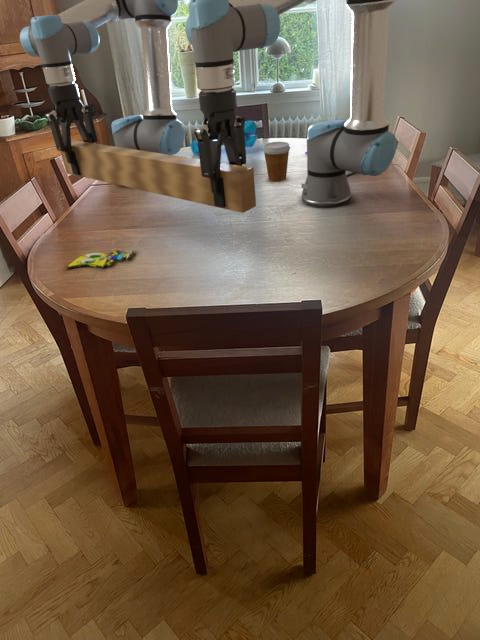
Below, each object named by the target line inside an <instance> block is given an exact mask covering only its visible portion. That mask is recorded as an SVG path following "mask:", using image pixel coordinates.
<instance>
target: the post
mask: <svg viewBox="0 0 480 640" xmlns="http://www.w3.org/2000/svg"><path fill="white" fill-rule="evenodd" d="M71 149H72V151H75V155H76V159H77V163H78V166H79V170H80V174H81V175H75V174H73V172H72V168H71V164H68V162H67V159H66V155H65V152H63V151H60V154H61V158H62V162H63V165H64V169H65V172H66V174H69V175H73V176H75V177H76V176H78V177H81V178H86V179H90V180H94V181H99V182H103V183H107V184H111V185H112V184H113V185H117V186H120V185H121V186H120V187H123V186H125V188H131V189H135V190H139V191H143V192H147V193H152V194H157V195H161V196H166V197H169V198H170V197H171V198H175V199H180V200H184V201H189V202H192V203H197V204H201V205H205V206H208V207H209V206H210V207H215V208H218V209H223V210H227V211H232V212H237V213H242V214H244V213H246V212H248V211H250V210H252V209H254V208H255V207H257V200H256V183H255V168H254V167H251V166H247V165H246V166H245V165H242V166H240V165H233V164H229V163H226V162H221V164H220V177H222V178H223V184H224V193H225V203H226V207H225V208H222V207H217V206H215V204H214V196H213V193H212V191H211V184H210V179H209V178H207V177H203V176H202V173H201V166H200V158H192V157H186V156H179V155H175V154H174V155H167V154H161V153H154V152H148V151H141V150H134V149H128V148H121V147H115V145H107V144H100V143H96V142H95V143H88V142H84V141H83V140H82V141H81V140H75V139H71Z"/></svg>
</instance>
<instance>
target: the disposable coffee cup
mask: <svg viewBox="0 0 480 640" xmlns="http://www.w3.org/2000/svg"><path fill="white" fill-rule="evenodd" d="M290 149H291V146H290V144H289V142H286V141H272V142H266V143H265V144H263V148H262V151H263V153H264V159H265V165H266V171H267V178H268V182H272V183H273V182H274V183H278V182H279V183H280V182H283V181H286V180H287V174H288V165H289V155H290V154H289V153H290Z"/></svg>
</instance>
